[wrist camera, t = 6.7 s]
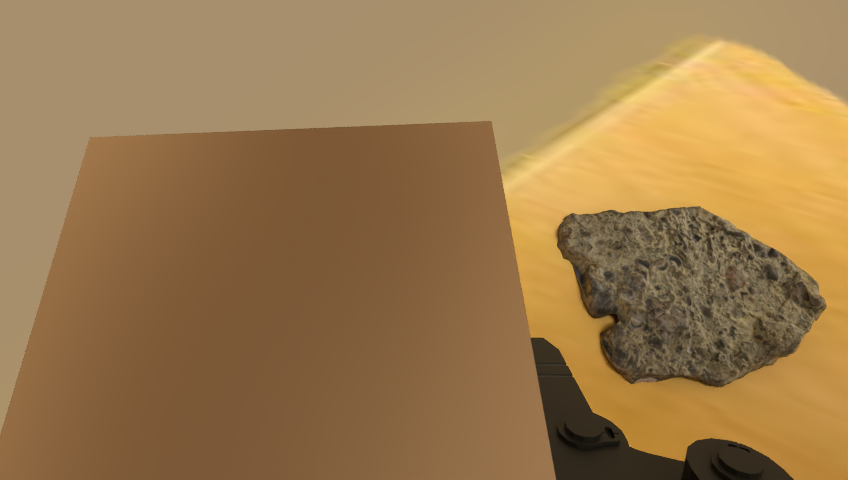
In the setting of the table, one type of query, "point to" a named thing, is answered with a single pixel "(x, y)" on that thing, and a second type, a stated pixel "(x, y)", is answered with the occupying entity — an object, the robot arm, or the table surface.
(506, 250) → the long peg
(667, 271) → the stone slab
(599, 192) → the table surface
